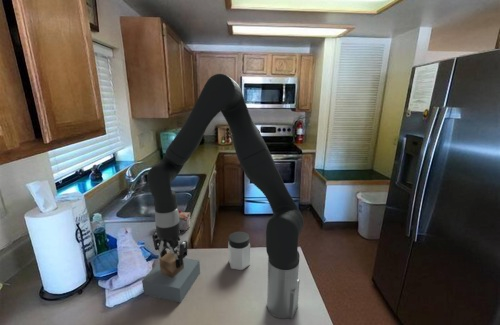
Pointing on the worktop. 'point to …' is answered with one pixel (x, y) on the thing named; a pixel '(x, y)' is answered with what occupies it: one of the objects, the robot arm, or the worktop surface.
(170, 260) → the walnut cube
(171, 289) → the slate block
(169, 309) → the worktop surface
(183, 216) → the food item
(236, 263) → the jar
